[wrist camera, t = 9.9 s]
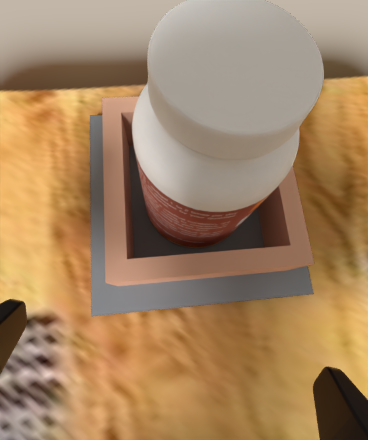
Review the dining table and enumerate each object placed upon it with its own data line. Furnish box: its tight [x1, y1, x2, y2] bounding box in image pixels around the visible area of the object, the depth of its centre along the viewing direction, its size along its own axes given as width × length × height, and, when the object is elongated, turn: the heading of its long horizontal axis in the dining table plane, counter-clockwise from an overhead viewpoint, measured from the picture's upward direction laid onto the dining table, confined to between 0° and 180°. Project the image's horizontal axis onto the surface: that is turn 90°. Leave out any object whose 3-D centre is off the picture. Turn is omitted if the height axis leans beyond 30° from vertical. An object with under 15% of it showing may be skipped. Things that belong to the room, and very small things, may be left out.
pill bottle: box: [132, 0, 324, 248], centre depth 12 cm, size 6×6×11 cm
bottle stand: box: [90, 96, 314, 316], centre depth 17 cm, size 13×13×4 cm
